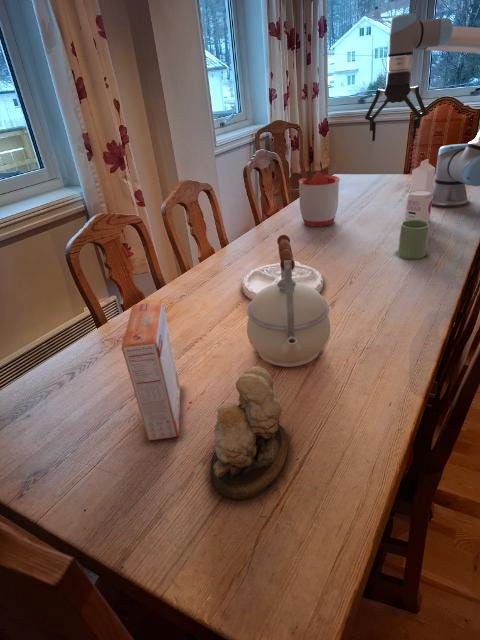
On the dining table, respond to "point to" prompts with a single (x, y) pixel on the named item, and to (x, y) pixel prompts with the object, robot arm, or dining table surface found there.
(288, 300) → the kettle
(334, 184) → the citrus juicer
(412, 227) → the green cup
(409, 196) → the supplement can
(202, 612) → the dining table surface
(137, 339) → the cracker box
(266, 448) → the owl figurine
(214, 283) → the dining table surface
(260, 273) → the divided serving plate
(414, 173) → the milk
